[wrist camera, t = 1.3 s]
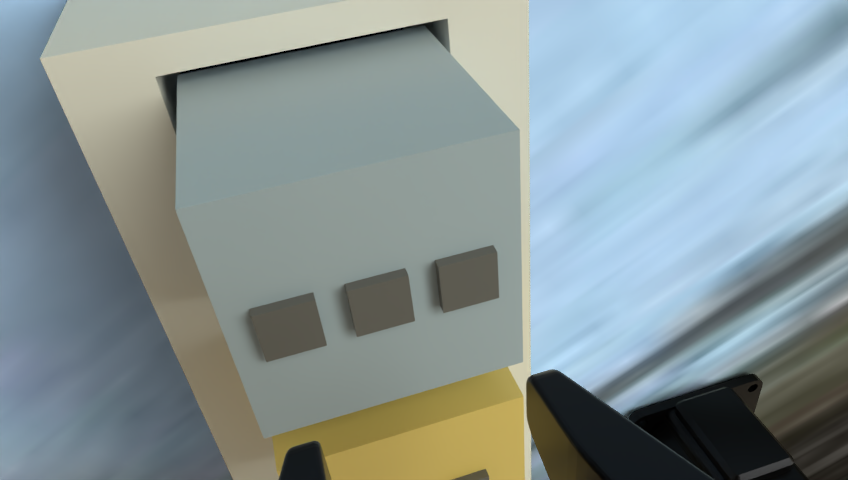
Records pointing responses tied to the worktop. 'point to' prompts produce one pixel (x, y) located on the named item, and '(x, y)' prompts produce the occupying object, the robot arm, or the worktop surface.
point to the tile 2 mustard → (426, 435)
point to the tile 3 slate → (352, 223)
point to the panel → (156, 145)
